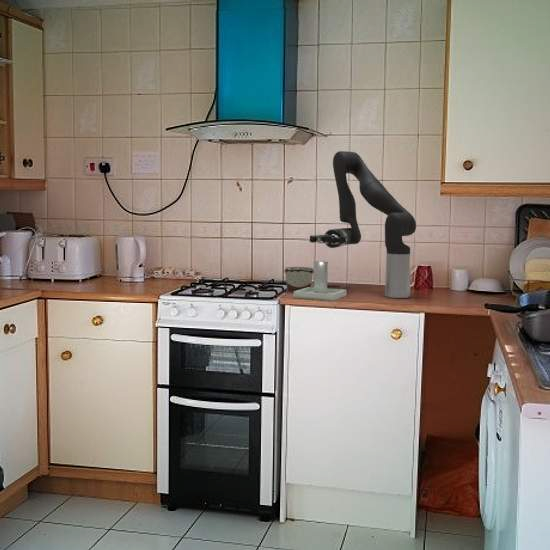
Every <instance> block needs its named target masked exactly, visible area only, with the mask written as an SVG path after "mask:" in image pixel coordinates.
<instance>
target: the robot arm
mask: <svg viewBox="0 0 550 550" xmlns="http://www.w3.org/2000/svg"><path fill="white" fill-rule="evenodd" d="M332 168H333V174H334V180H335V185H336V189H337V195H338V204H339V207H338V208H339V209H338V210H339V221H340V222H341V223H346V224H349V225H350V227H343V228H333V229H328V230H327V231H326V232H325V233H324V234H318V235H317V234H315V235H309V243H313V244H314V243H318V244H323V245H326V247H328V248H331V249H335V248H340V247H343V246H346V245H357V244H359V243H360V242H361V239H362V233H361V231H360V227H359V224H358V220H357V208H356V207H357V205H356V200H355V196H354V195H353V192H352V191H351V188H350V186H349V184H348V180H347V174H350V175H353V176H354V177H355V178H356V179H357V181H358V182H359V185H358V186H359V192H360V195H361V196H362V197H363V199H364V201H366V202H367V203H368V204H369V206H371V207H372V208H374V209H375V210H377V211H379V212H381V213H383V214H384V215H386V218H385V222H384V245H385V248H386V258H385V260H386V261H385V285H384V286H385V287H384V289H385V290H384V296H385V297H386V298H391V299H392V298H393V299H394V298H396V299H407V298H409V297H410V296H411V277H412V273H411V271H410V270H411V269H410V267H411V264H410V262H411V261H410V260H411V247H410V246H409V245H407V244H405V242H403V241H404V240H403V237H408V236H410V235H413V234H414V233H415V232H416V231H417V230H416V229H417V222H416V219H415V218H414V216H413V214H412V213H410V212H409V210H408V209H406V208H405V207H403V205H401V203H399V202H398V201H397V200H396V198H394V196H393V195H392V194H391V193H390V192H389V191H388V189H387V188H386V187H385V186H384V185H383V184H382V183H381V181H380V180H379V179H378V178H377V177H376V176H375V175H374V174H373V172H372V171H371V170H370V169H369V167H368V166H367V164H366V163H365V161H364V160H363V159H362V157H361V156H360V155H359V154H358V153H357V152H355V151H345V150H342V151H341V150H340V151H337V152H336V153H335V154H334V155H333V158H332Z"/></svg>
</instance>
